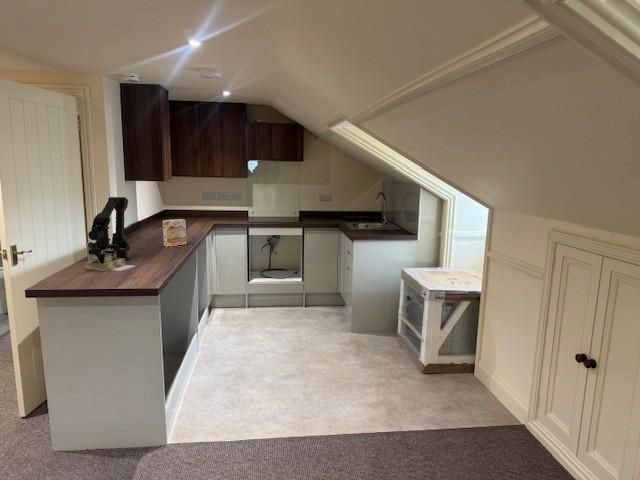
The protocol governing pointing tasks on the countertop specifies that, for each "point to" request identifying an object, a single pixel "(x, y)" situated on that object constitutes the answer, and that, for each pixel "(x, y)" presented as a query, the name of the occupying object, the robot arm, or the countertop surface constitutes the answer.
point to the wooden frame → (106, 266)
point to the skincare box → (90, 257)
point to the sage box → (107, 258)
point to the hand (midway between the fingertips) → (105, 263)
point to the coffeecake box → (174, 232)
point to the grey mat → (123, 268)
